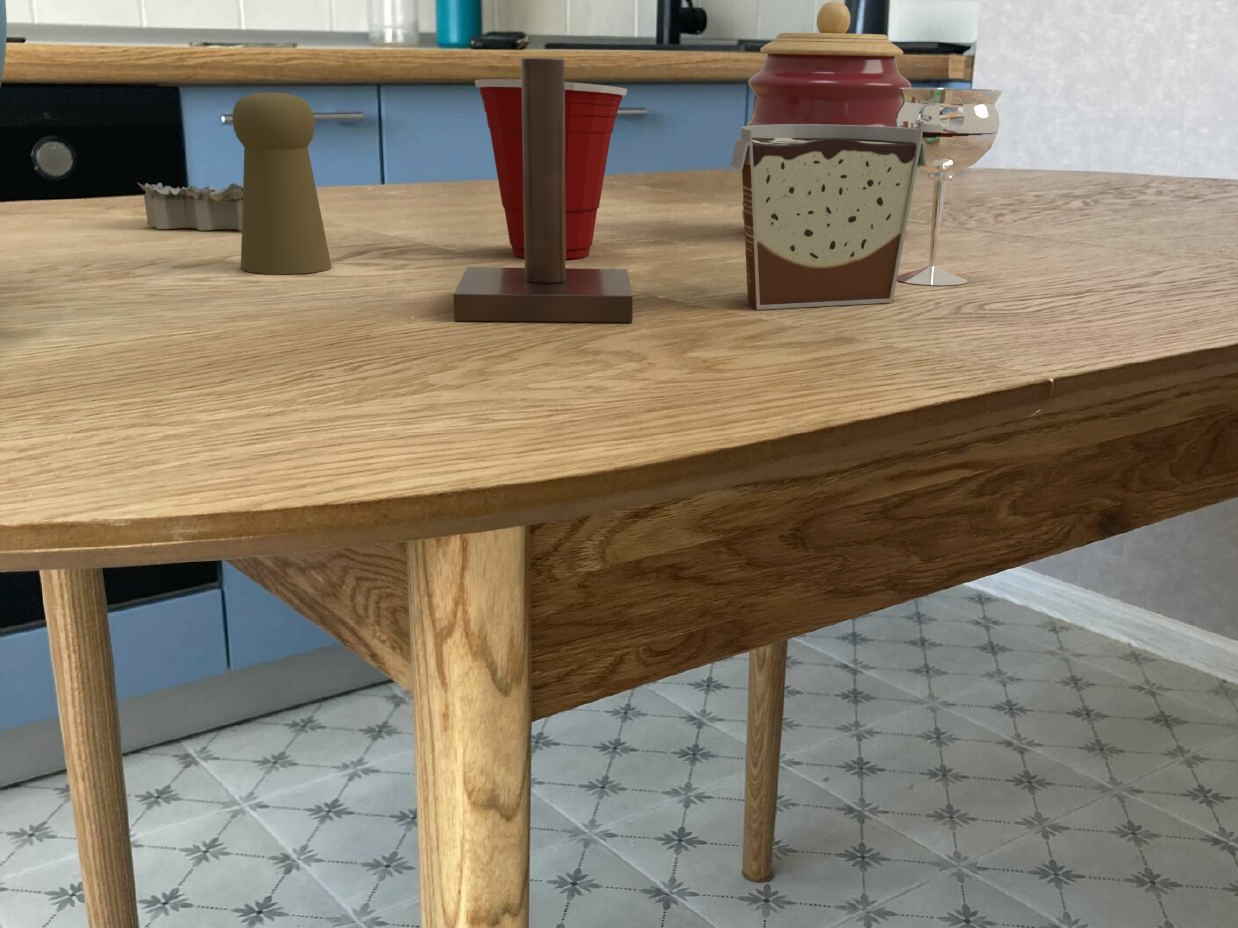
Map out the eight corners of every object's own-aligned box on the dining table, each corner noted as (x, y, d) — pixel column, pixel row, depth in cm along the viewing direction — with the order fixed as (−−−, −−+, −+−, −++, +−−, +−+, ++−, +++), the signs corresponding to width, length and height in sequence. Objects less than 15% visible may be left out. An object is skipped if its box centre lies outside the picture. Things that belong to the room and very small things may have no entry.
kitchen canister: (898, 248, 107) (921, 0, 99) (734, 242, 108) (745, -3, 101) (895, 229, 118) (916, 5, 111) (747, 223, 120) (758, 3, 113)
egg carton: (295, 223, 115) (291, 172, 113) (262, 234, 108) (258, 180, 107) (174, 218, 116) (168, 168, 114) (135, 229, 109) (128, 175, 108)
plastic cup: (649, 251, 103) (652, 80, 98) (584, 269, 94) (585, 81, 89) (524, 241, 107) (521, 76, 102) (451, 257, 98) (444, 77, 93)
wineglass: (972, 290, 89) (995, 92, 84) (870, 282, 91) (887, 89, 86) (987, 276, 94) (1010, 90, 89) (891, 269, 97) (908, 87, 92)
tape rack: (454, 321, 76) (443, 57, 70) (467, 291, 85) (459, 56, 79) (632, 323, 76) (636, 61, 71) (626, 293, 85) (630, 59, 80)
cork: (301, 276, 89) (286, 95, 84) (222, 270, 91) (203, 93, 86) (348, 264, 94) (336, 93, 90) (272, 258, 96) (257, 90, 91)
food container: (864, 285, 89) (877, 123, 85) (913, 301, 84) (930, 129, 80) (692, 294, 85) (698, 124, 81) (733, 311, 80) (742, 130, 76)
